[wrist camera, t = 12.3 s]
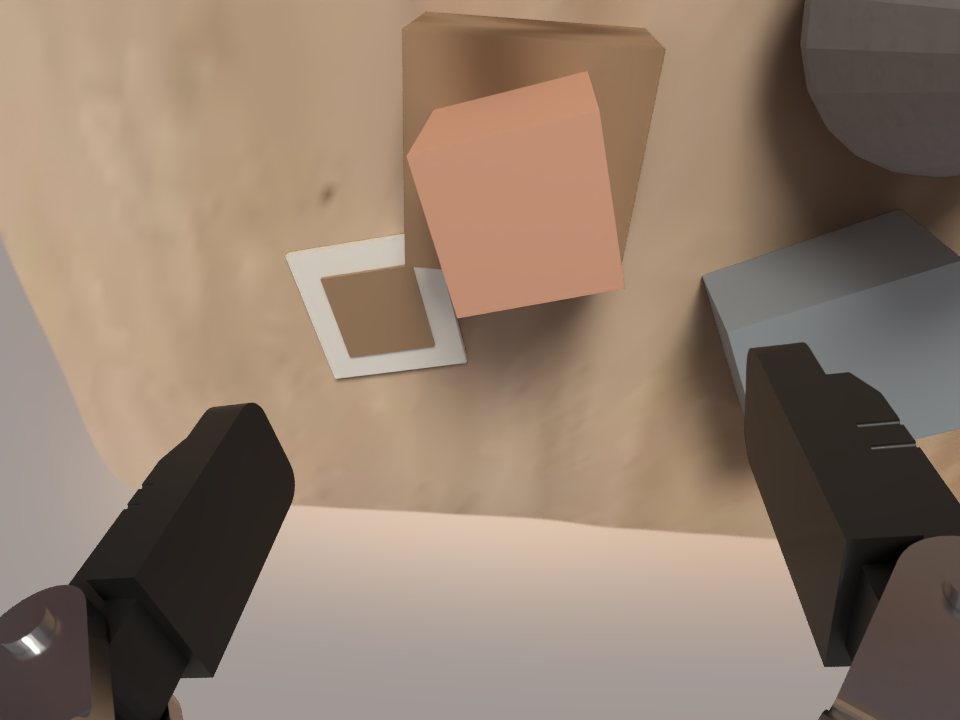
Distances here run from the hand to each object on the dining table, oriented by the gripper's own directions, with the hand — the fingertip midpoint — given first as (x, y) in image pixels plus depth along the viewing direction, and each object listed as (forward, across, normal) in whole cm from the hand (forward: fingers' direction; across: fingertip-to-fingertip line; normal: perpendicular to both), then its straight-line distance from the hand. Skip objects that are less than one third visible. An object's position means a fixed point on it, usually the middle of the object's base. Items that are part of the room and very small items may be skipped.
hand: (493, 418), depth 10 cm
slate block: (+18, -11, +11) cm, 24 cm away
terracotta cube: (+13, 0, 0) cm, 13 cm away
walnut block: (+18, 0, 0) cm, 18 cm away
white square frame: (+18, +8, +7) cm, 21 cm away
